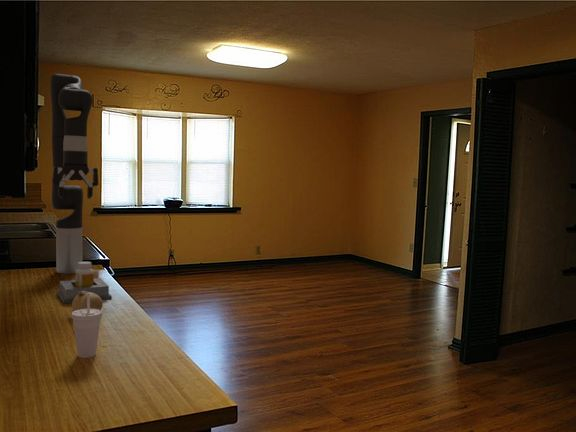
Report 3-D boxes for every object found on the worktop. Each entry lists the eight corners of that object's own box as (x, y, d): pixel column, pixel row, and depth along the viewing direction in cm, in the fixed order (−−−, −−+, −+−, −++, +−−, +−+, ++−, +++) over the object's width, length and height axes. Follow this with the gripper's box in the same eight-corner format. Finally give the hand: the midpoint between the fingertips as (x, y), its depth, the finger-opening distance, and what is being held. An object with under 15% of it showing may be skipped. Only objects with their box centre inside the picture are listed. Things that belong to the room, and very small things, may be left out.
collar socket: (56, 293, 169) (56, 281, 169) (102, 289, 177) (102, 277, 176) (63, 303, 157) (63, 290, 157) (111, 298, 165) (111, 286, 164)
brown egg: (75, 284, 183) (75, 270, 183) (96, 282, 187) (96, 268, 186) (79, 288, 177) (79, 273, 177) (100, 286, 181) (100, 272, 180)
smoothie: (83, 362, 112) (83, 298, 111) (64, 355, 115) (64, 293, 114) (108, 354, 117) (108, 292, 116) (89, 347, 121) (89, 288, 120)
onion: (85, 310, 152) (85, 285, 151) (108, 313, 149) (108, 288, 149) (65, 317, 144) (65, 291, 144) (89, 320, 142) (89, 294, 141)
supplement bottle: (96, 291, 169) (97, 261, 169) (88, 295, 164) (88, 264, 163) (81, 290, 170) (81, 260, 169) (71, 293, 165) (72, 263, 164)
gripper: (95, 151, 182) (95, 197, 184) (50, 149, 175) (51, 197, 177) (100, 150, 176) (99, 199, 178) (54, 148, 169) (54, 199, 170)
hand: (75, 198), depth 177 cm, fingers open, 8 cm apart
